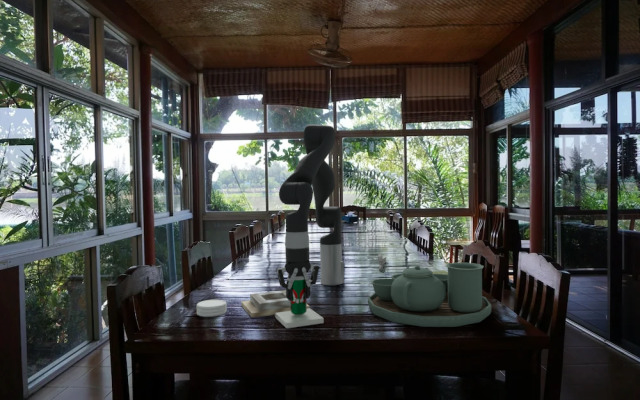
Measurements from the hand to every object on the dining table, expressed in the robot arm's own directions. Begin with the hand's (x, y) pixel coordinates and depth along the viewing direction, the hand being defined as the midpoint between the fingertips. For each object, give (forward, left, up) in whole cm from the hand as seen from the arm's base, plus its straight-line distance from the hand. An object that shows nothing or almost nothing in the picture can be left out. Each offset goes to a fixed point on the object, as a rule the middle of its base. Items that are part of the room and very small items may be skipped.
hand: (298, 299), depth 139 cm
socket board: (+3, -17, -7) cm, 18 cm away
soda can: (0, 0, -5) cm, 5 cm away
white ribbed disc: (+24, -21, -7) cm, 33 cm away
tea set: (-43, +7, -7) cm, 44 cm away
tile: (0, 0, -7) cm, 7 cm away
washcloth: (-72, -29, -7) cm, 78 cm away
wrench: (-69, -66, -7) cm, 96 cm away
